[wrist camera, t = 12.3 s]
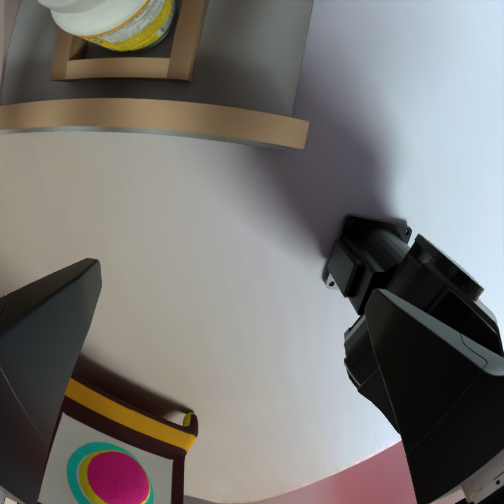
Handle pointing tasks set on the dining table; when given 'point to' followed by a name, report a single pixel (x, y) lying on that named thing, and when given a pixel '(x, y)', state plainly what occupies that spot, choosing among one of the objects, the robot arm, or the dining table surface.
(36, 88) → the board
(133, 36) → the supplement bottle
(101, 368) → the dining table surface
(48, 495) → the decorative lantern
